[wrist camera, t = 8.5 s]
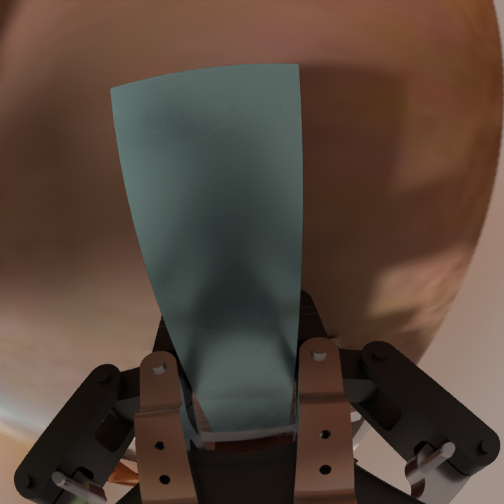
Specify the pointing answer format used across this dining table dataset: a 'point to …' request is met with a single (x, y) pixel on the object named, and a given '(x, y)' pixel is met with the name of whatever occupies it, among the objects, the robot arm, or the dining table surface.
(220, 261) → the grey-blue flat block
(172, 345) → the robot arm
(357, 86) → the dining table surface
